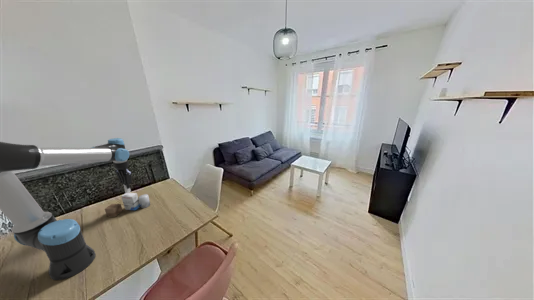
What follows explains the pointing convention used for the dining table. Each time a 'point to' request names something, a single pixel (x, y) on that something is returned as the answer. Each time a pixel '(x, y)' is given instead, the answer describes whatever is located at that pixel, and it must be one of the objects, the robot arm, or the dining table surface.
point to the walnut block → (113, 210)
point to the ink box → (130, 201)
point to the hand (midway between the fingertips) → (128, 192)
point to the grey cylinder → (144, 201)
